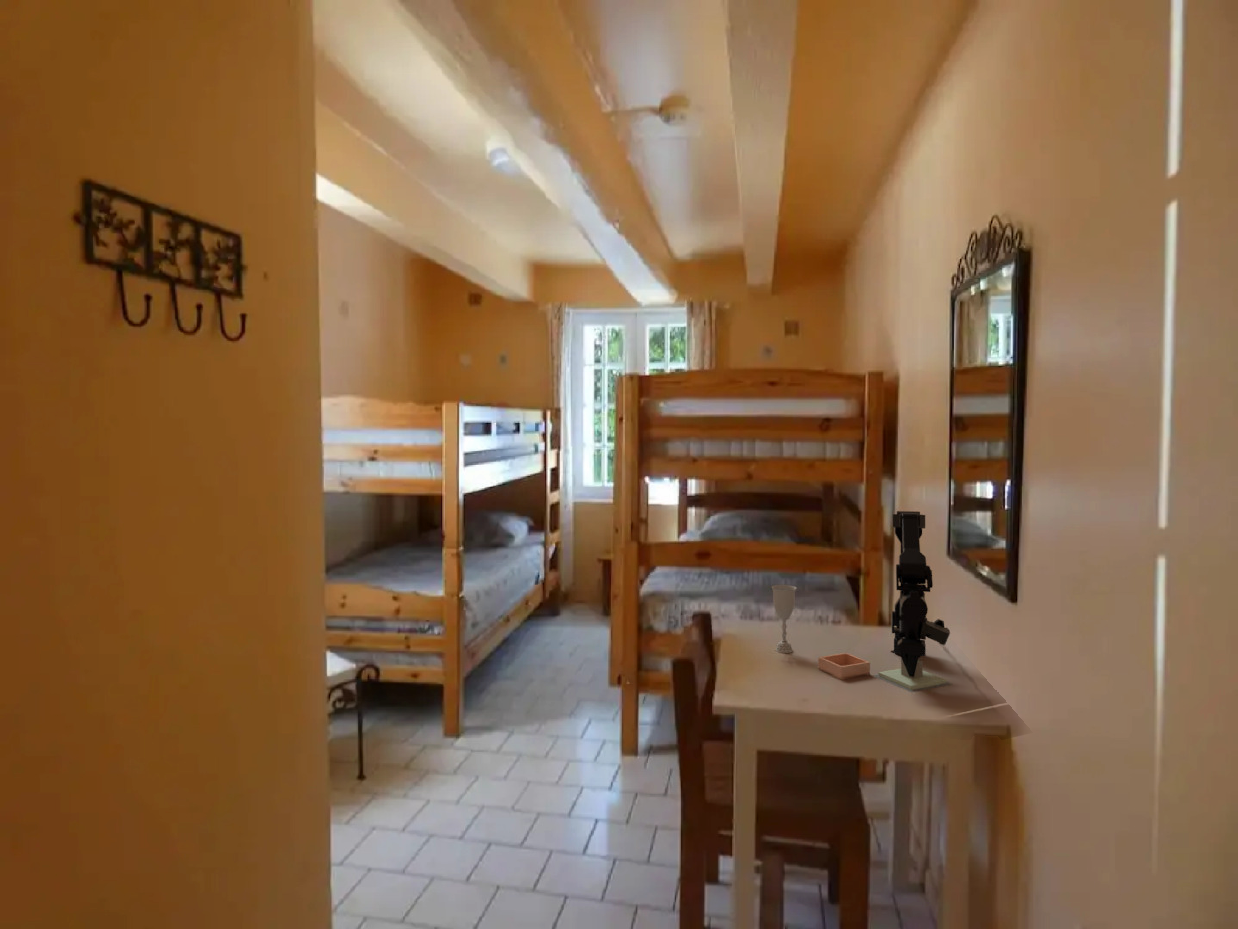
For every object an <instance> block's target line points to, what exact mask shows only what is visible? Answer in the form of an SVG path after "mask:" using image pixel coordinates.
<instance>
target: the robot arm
mask: <svg viewBox="0 0 1238 929" xmlns="http://www.w3.org/2000/svg"><path fill="white" fill-rule="evenodd" d="M891 528H892V529H893V528H894V534H895V537H896V538H897V539H898V541H899V542H900V544H899V545H900V548H899V549H900V554H899V556H898V564H897V563H896V564H895V584H896V586H895V588H896V591H899V597H898V599H897V600H896V602H895V603H894V610H892V611H891V620H890V621H891V634H894V639H893V650H890V653H893V654H895V655H897V656H900V658H901V659H902V660H903V663H904V665H905V667H906V670H907V672H908V675H909V676H910V677H914V675H915V670H916V666H917V662H918V659H919V658H921V657H924V656H926V640H927V639H930V640H932V641H935V642H937V643H939V644H940V645H943V646H945V645H946V643H947V642H948V639H949V637H950V634H951V632H950V629H949V628H948V627H945V622H944V620H942V619H940V618H938V619H936V620H935V621H933V620H932V621H929V620H928V618H927V614H928V610H929V609H928V605H927V601H926V593H927V592H928V593H931V589H932V588H933V586H934V585H933V582H934V581H933V570H932V569H931V567H930V565H927V558H926V555H924V554H923V553H922V552H921V544H920V539H921V537H922V536H923V529H926V514H921V511H919V510H918V511H913V510H912V511H910V510H906V511H905V510H896V513H894V514H892V515H891Z"/></svg>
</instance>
